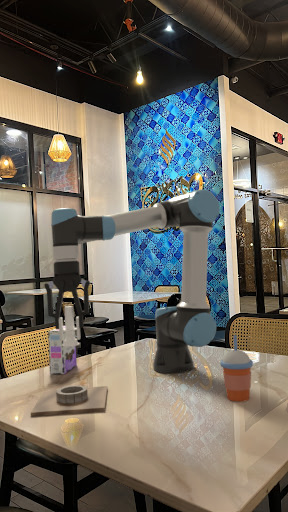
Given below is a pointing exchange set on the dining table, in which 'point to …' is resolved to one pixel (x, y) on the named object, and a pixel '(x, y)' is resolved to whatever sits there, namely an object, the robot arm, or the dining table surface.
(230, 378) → the cup with straw
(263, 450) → the dining table surface
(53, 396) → the flange board
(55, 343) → the candy box
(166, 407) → the dining table surface
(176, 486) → the dining table surface
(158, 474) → the dining table surface
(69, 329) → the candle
